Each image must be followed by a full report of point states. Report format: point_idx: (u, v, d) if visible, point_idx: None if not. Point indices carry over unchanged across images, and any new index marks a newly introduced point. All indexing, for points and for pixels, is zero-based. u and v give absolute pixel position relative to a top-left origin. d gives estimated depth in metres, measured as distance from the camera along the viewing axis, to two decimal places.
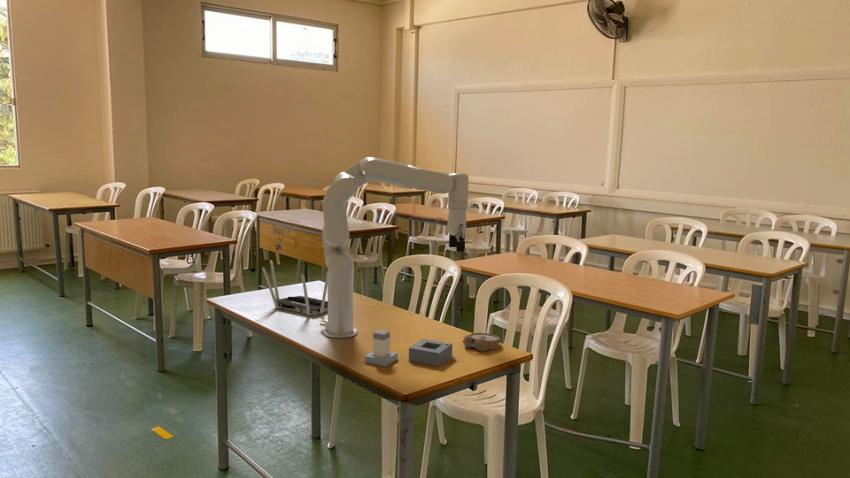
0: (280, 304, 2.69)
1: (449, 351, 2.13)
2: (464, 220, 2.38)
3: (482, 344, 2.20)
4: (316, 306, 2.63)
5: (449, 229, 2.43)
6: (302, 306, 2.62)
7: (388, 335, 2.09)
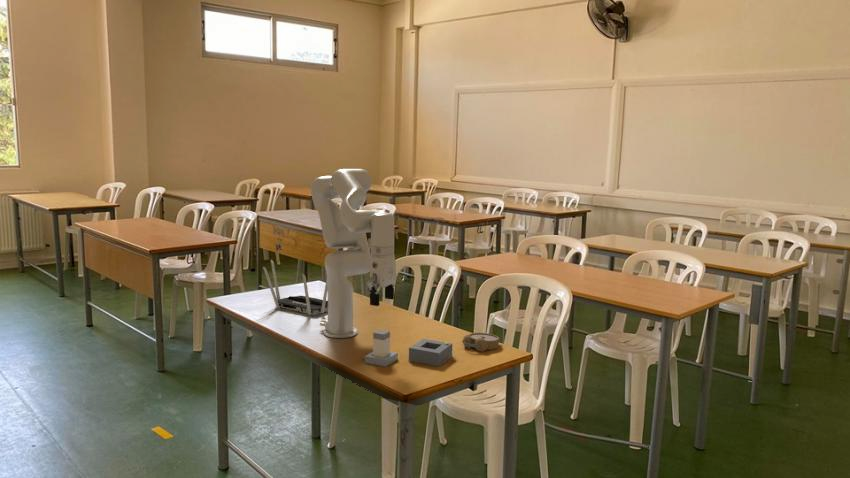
0: (281, 304, 2.69)
1: (449, 351, 2.13)
2: None
3: (481, 344, 2.20)
4: (317, 306, 2.64)
5: (388, 280, 2.03)
6: (303, 306, 2.63)
7: (388, 335, 2.09)
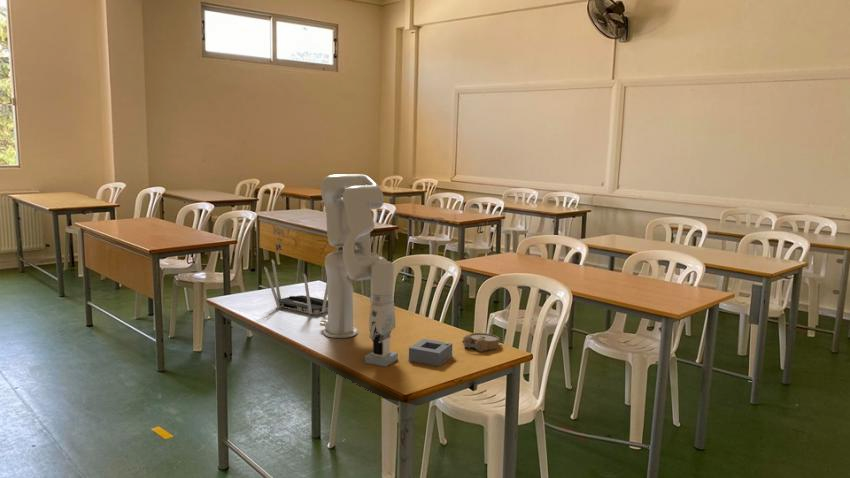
0: (282, 303, 2.70)
1: (449, 351, 2.13)
2: None
3: (482, 344, 2.20)
4: (318, 305, 2.64)
5: (387, 328, 2.06)
6: (303, 306, 2.63)
7: (388, 335, 2.09)
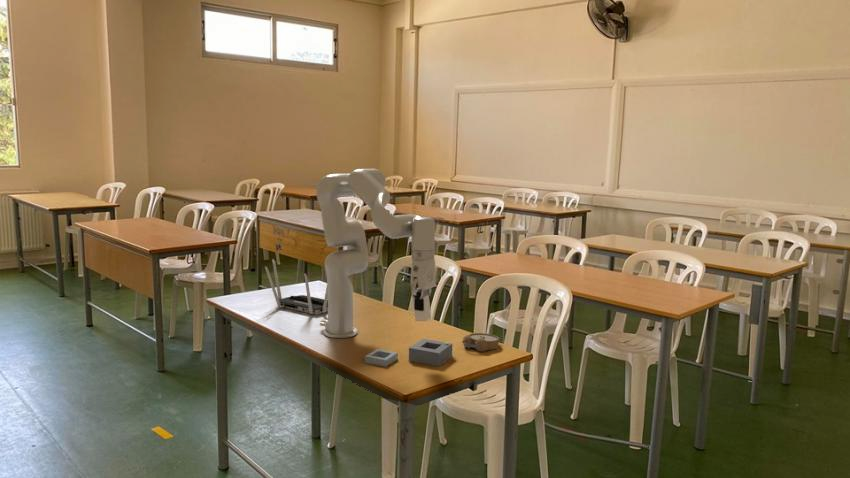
0: (282, 303, 2.70)
1: (449, 351, 2.13)
2: None
3: (482, 344, 2.20)
4: (318, 305, 2.64)
5: (428, 284, 2.06)
6: (304, 305, 2.64)
7: (427, 293, 2.09)
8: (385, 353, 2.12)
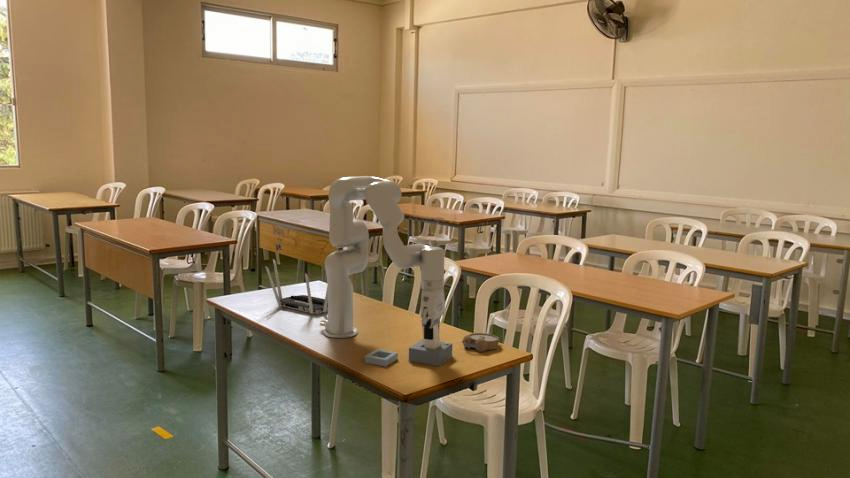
0: (283, 303, 2.71)
1: (449, 351, 2.13)
2: None
3: (482, 344, 2.19)
4: (319, 305, 2.65)
5: (438, 313, 2.08)
6: (305, 305, 2.64)
7: (436, 321, 2.11)
8: (385, 353, 2.12)
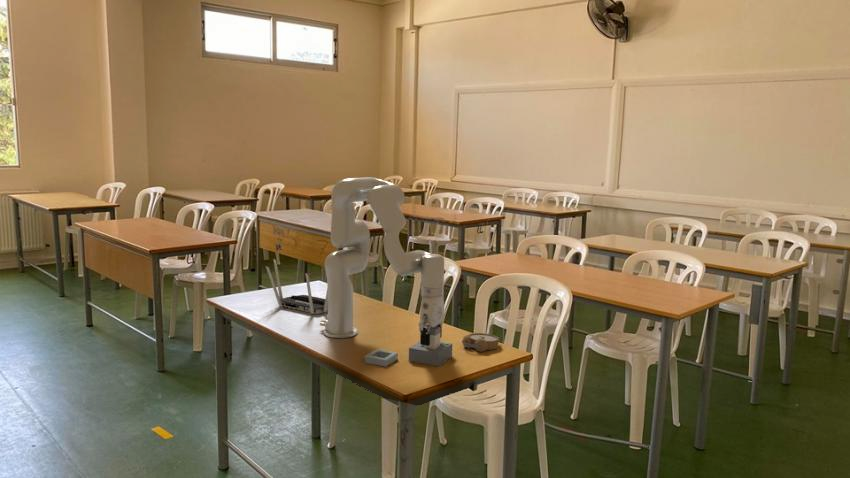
0: (284, 303, 2.71)
1: (449, 351, 2.13)
2: None
3: (481, 344, 2.19)
4: (319, 305, 2.65)
5: (437, 320, 2.09)
6: (305, 305, 2.64)
7: (439, 330, 2.11)
8: (385, 353, 2.12)
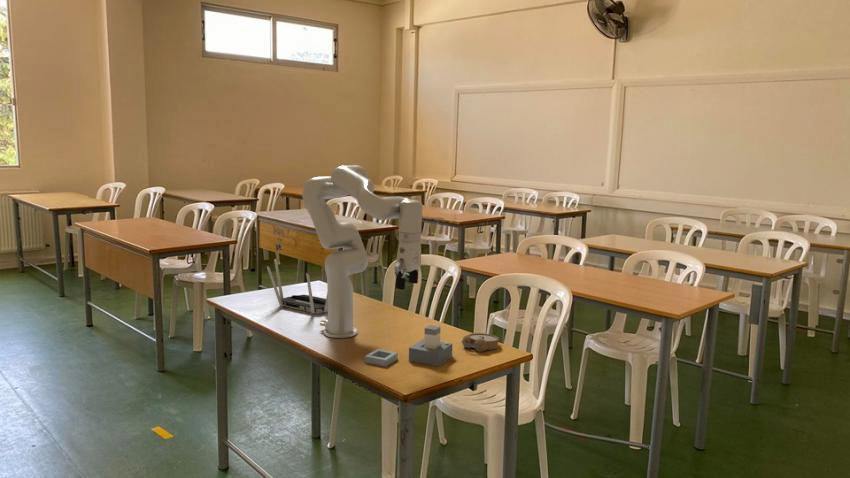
0: (284, 303, 2.71)
1: (449, 351, 2.13)
2: None
3: (481, 344, 2.19)
4: (320, 305, 2.66)
5: (414, 265, 2.11)
6: (306, 305, 2.65)
7: (439, 330, 2.11)
8: (385, 353, 2.12)
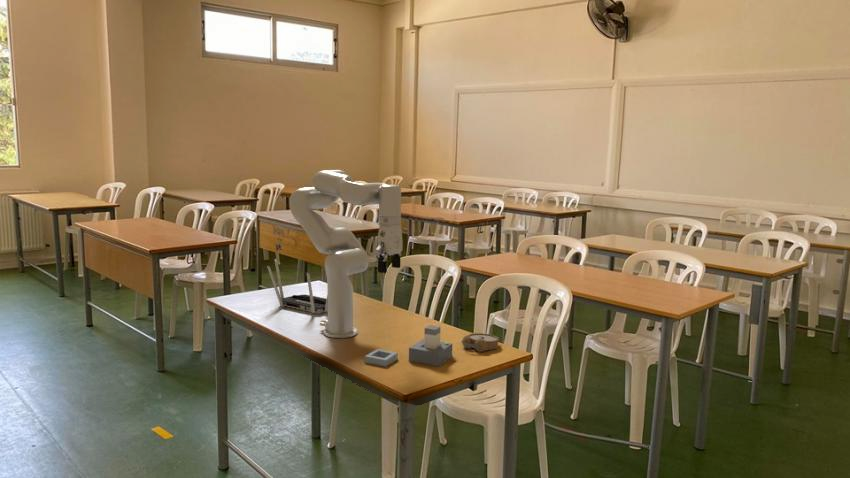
0: (285, 302, 2.72)
1: (449, 351, 2.13)
2: None
3: (481, 345, 2.19)
4: (321, 304, 2.66)
5: (395, 249, 2.14)
6: (307, 305, 2.65)
7: (439, 330, 2.11)
8: (385, 353, 2.12)
